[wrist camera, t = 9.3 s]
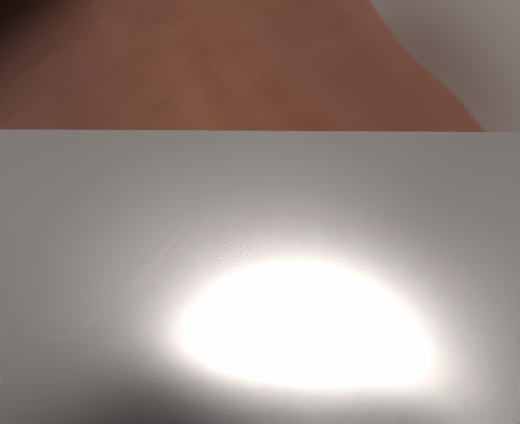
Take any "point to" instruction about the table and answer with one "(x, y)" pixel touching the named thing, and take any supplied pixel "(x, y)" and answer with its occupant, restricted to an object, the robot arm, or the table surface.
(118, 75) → the table surface
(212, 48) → the table surface
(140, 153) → the billet
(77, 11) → the table surface
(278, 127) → the table surface
